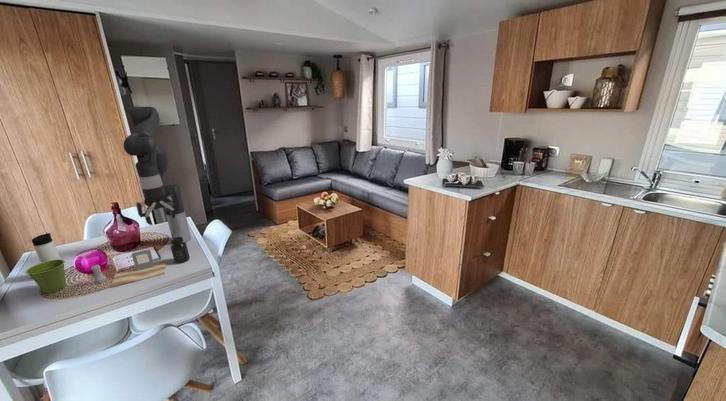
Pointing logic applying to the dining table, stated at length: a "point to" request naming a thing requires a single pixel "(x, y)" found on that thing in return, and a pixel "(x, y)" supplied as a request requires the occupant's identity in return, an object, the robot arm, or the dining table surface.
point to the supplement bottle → (179, 250)
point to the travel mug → (45, 248)
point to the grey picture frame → (143, 259)
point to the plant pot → (49, 275)
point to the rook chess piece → (98, 275)
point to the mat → (138, 275)
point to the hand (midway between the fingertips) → (161, 221)
